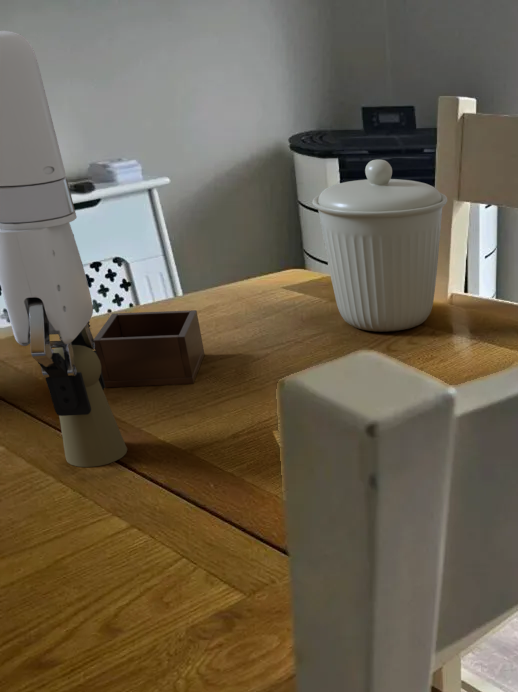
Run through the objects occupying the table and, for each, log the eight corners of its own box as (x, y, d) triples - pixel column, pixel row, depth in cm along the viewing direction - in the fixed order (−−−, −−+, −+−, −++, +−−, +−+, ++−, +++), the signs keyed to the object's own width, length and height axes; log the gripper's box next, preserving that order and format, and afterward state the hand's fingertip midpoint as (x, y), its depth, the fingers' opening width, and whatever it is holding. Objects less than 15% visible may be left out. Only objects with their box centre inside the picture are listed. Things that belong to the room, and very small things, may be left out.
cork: (65, 446, 87) (34, 343, 81) (125, 437, 89) (99, 335, 82) (65, 471, 82) (32, 363, 76) (128, 461, 84) (101, 355, 78)
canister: (402, 350, 110) (395, 175, 98) (298, 328, 118) (279, 163, 106) (470, 314, 123) (472, 155, 110) (372, 297, 131) (363, 146, 118)
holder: (104, 387, 100) (92, 340, 97) (122, 357, 109) (112, 313, 105) (193, 383, 101) (184, 336, 98) (204, 354, 110) (196, 310, 106)
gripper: (12, 186, 78) (65, 373, 89) (-57, 225, 64) (16, 440, 75) (94, 184, 79) (137, 369, 89) (42, 222, 65) (101, 436, 76)
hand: (81, 400), depth 82 cm, fingers closed on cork, 5 cm apart
